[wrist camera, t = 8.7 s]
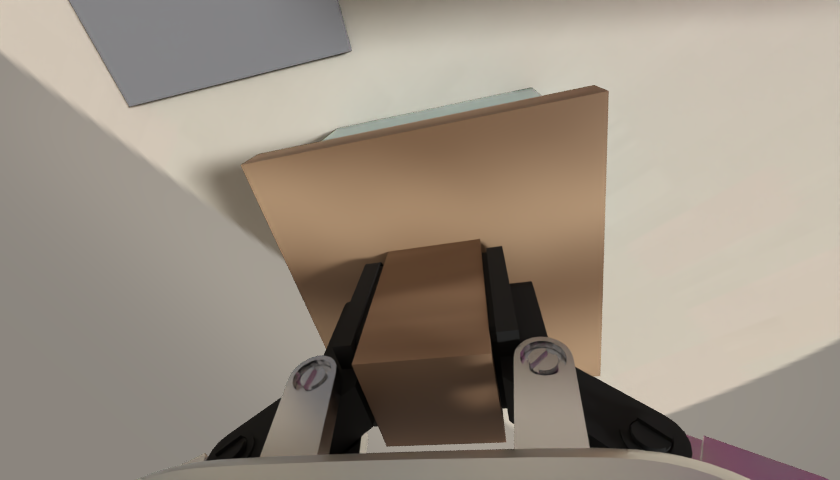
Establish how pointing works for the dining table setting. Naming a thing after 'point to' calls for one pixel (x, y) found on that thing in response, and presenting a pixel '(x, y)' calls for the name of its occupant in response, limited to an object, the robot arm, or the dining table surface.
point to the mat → (206, 40)
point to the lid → (447, 248)
